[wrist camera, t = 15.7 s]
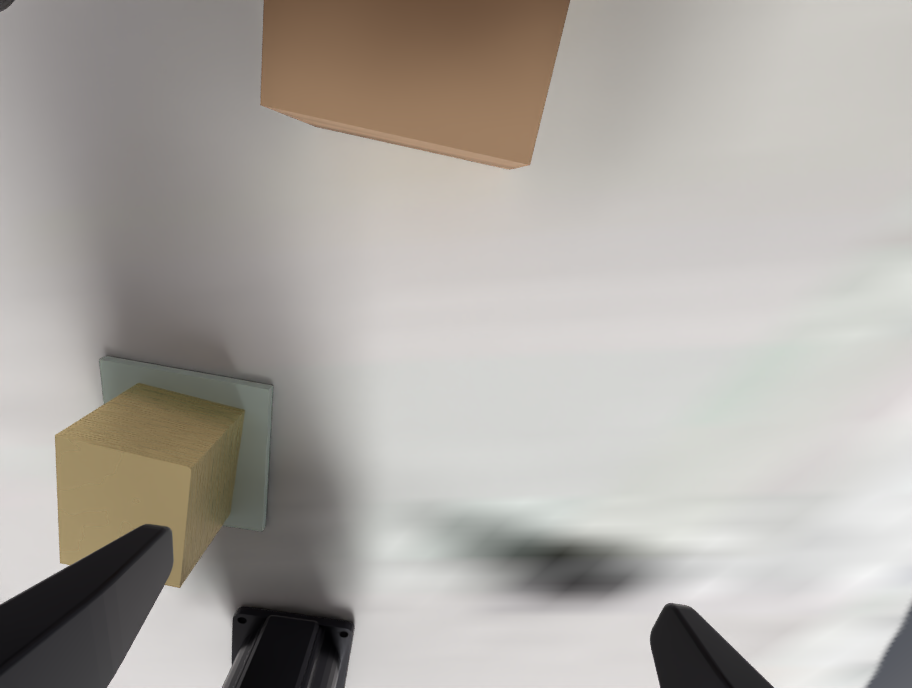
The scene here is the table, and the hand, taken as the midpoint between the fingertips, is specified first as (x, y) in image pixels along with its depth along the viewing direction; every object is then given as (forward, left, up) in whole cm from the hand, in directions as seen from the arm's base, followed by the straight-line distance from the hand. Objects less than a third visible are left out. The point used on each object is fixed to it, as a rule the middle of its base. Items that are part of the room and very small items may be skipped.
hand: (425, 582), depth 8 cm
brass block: (-7, +10, -11) cm, 16 cm away
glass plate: (-7, +10, -11) cm, 17 cm away
